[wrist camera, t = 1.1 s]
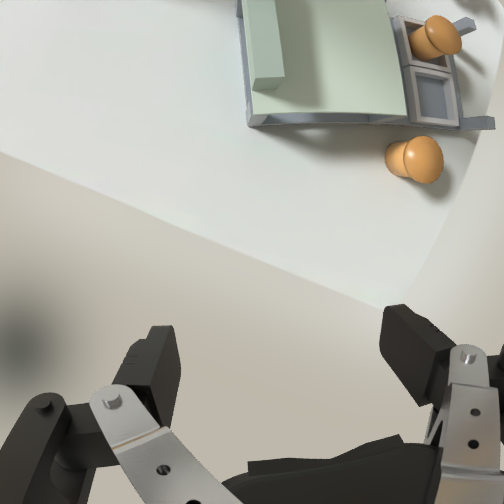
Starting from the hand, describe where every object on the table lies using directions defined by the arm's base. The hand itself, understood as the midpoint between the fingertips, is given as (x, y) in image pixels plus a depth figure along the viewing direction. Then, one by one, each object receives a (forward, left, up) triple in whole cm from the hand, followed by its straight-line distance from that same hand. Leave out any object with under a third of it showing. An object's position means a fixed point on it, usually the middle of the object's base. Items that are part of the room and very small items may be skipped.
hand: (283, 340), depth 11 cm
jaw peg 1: (-21, +22, -21) cm, 37 cm away
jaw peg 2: (-6, +18, -23) cm, 30 cm away
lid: (-17, +8, -15) cm, 24 cm away
